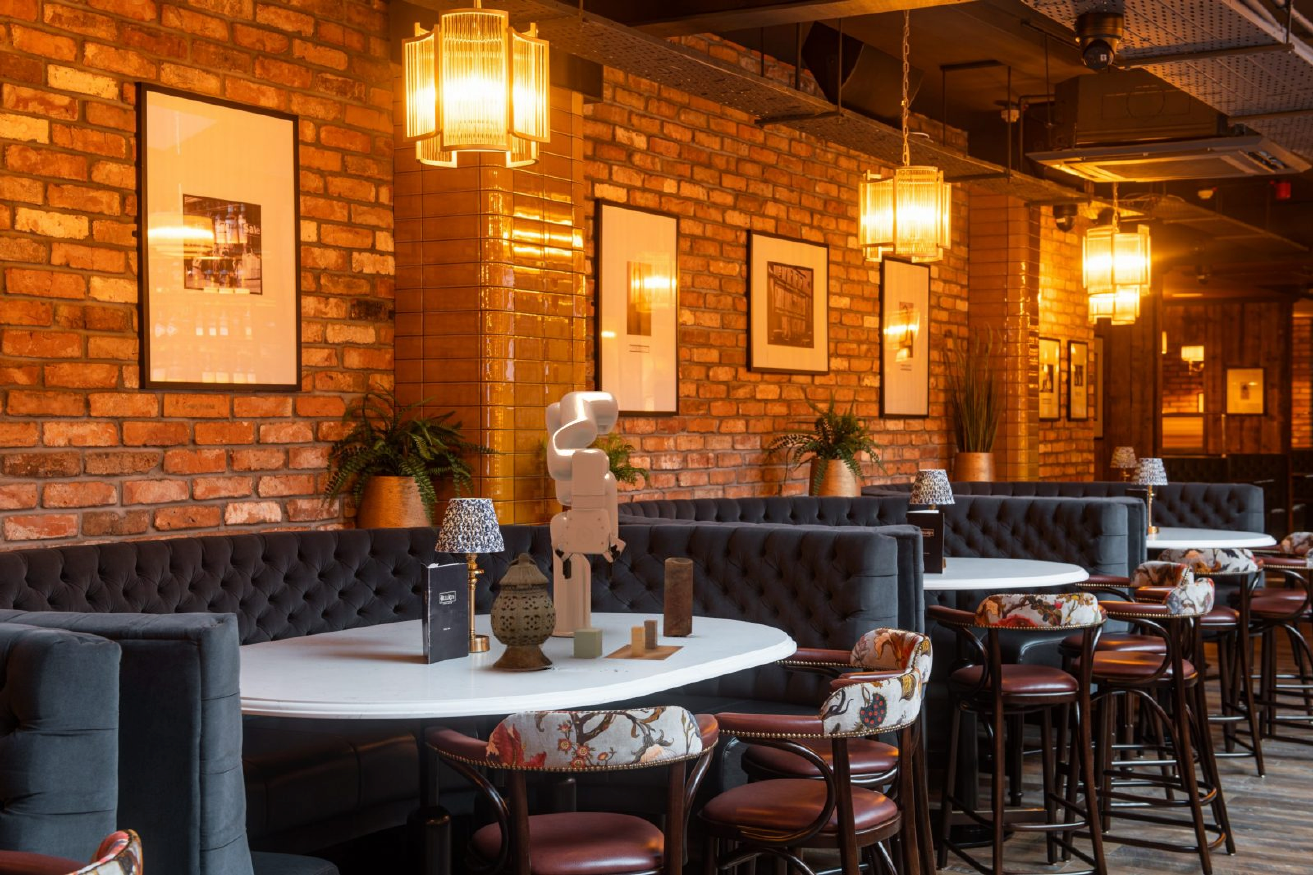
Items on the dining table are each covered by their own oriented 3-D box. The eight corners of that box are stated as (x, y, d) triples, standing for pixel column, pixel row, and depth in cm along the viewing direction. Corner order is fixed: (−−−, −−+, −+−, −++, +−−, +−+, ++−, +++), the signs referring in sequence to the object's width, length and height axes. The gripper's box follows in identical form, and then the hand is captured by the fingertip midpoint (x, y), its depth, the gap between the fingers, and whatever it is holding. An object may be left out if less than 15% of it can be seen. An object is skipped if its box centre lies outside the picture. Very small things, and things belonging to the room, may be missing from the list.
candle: (694, 635, 351) (694, 557, 352) (692, 639, 344) (691, 559, 344) (664, 635, 352) (664, 557, 352) (661, 639, 345) (661, 559, 345)
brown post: (644, 648, 323) (644, 621, 323) (646, 647, 326) (646, 619, 326) (654, 649, 323) (654, 621, 323) (657, 647, 325) (657, 620, 325)
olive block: (573, 660, 310) (573, 631, 310) (580, 657, 315) (580, 628, 315) (595, 661, 309) (595, 632, 309) (602, 658, 314) (602, 629, 314)
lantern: (478, 669, 298) (478, 554, 299) (512, 660, 311) (511, 549, 312) (535, 673, 293) (535, 556, 293) (566, 664, 306) (566, 551, 306)
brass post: (631, 656, 311) (631, 627, 312) (634, 654, 314) (634, 626, 314) (642, 656, 311) (642, 628, 311) (645, 655, 313) (645, 626, 313)
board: (602, 661, 309) (602, 657, 309) (627, 647, 331) (627, 644, 331) (663, 663, 306) (663, 660, 306) (684, 649, 327) (684, 646, 327)
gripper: (546, 504, 311) (546, 579, 311) (620, 504, 307) (620, 581, 307) (556, 502, 318) (556, 577, 318) (629, 503, 314) (629, 578, 314)
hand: (588, 579), depth 312 cm, fingers open, 9 cm apart
